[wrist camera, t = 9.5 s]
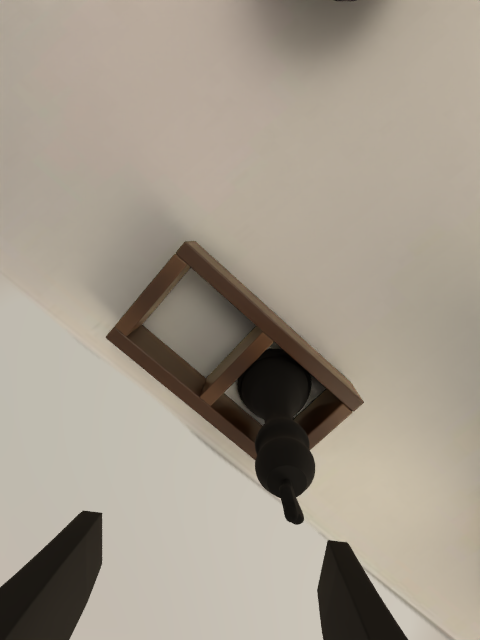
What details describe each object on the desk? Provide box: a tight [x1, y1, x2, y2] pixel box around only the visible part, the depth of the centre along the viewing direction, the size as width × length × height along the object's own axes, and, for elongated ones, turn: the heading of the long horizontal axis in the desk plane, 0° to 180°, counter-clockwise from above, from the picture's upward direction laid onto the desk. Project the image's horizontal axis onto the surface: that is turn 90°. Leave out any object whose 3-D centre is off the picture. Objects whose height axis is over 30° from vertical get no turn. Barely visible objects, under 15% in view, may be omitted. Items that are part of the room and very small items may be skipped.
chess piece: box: [237, 349, 315, 524], centre depth 15 cm, size 4×4×10 cm
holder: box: [106, 241, 364, 460], centre depth 18 cm, size 7×12×2 cm, turn 48°
